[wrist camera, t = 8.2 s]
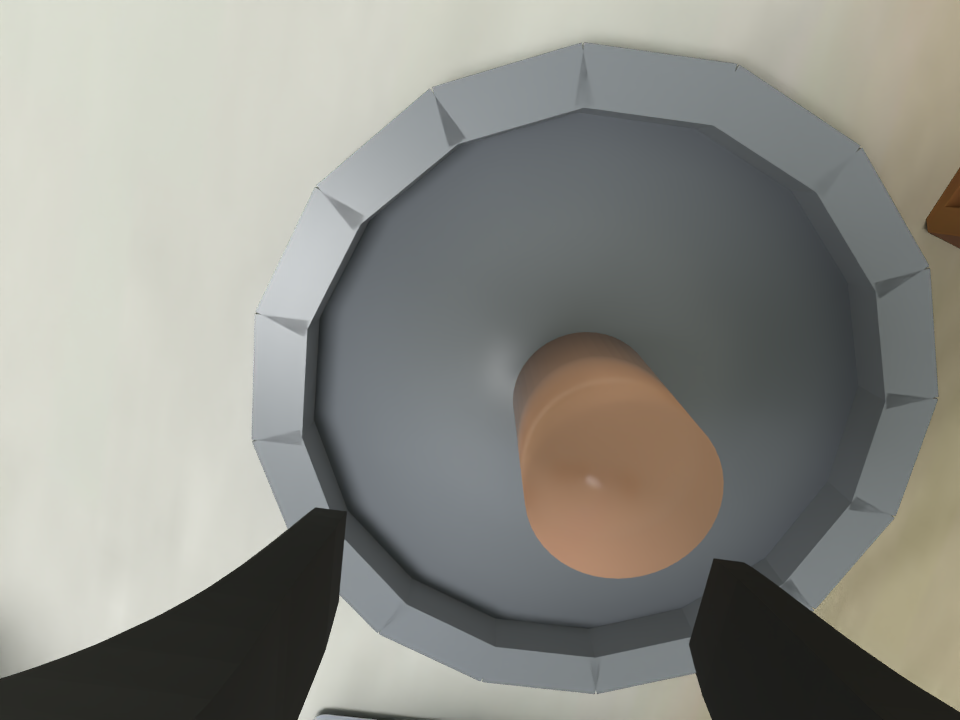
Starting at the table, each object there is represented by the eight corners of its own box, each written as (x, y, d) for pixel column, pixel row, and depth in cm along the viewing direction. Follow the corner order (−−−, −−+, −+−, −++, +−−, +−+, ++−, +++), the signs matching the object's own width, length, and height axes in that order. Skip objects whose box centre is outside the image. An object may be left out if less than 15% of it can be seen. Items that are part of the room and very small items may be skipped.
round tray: (795, 674, 24) (822, 718, 22) (266, 616, 23) (246, 656, 21) (983, 114, 18) (1043, 107, 16) (286, 16, 17) (262, -3, 15)
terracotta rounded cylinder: (638, 472, 21) (698, 588, 15) (503, 456, 21) (511, 567, 15) (667, 341, 19) (745, 414, 14) (523, 323, 19) (541, 388, 13)
